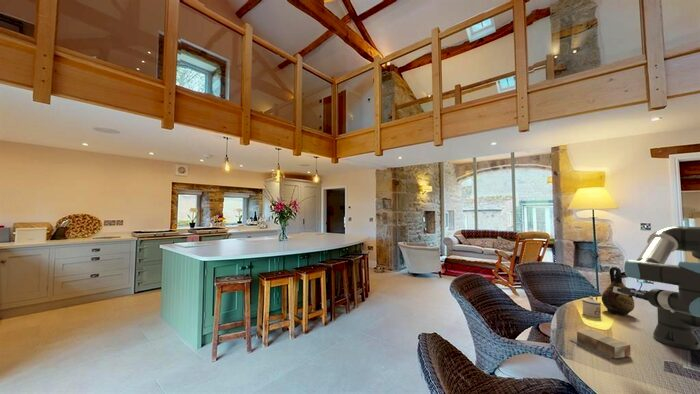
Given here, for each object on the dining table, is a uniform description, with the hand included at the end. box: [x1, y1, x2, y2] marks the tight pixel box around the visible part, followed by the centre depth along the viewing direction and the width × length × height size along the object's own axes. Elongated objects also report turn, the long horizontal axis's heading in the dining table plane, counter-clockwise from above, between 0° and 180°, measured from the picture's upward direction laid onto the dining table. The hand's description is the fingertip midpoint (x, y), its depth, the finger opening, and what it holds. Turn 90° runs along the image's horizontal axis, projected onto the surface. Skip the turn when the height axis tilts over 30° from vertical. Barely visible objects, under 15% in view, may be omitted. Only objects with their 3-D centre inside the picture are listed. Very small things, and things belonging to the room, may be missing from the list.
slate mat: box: [569, 337, 614, 359], centre depth 131 cm, size 17×14×1 cm
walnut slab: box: [576, 329, 632, 359], centre depth 129 cm, size 5×10×16 cm
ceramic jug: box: [601, 266, 635, 317], centre depth 176 cm, size 17×15×30 cm
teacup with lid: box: [581, 296, 602, 318], centre depth 173 cm, size 12×9×12 cm
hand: (614, 289), depth 130 cm, fingers closed
